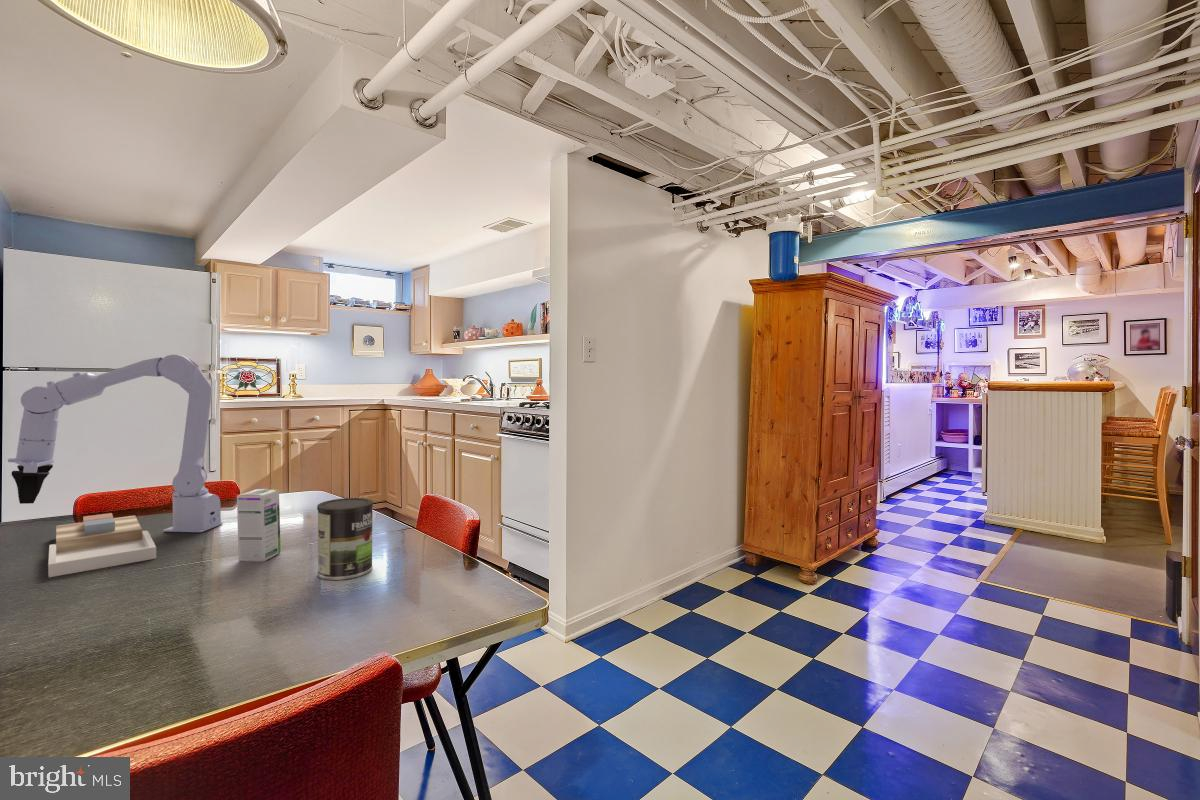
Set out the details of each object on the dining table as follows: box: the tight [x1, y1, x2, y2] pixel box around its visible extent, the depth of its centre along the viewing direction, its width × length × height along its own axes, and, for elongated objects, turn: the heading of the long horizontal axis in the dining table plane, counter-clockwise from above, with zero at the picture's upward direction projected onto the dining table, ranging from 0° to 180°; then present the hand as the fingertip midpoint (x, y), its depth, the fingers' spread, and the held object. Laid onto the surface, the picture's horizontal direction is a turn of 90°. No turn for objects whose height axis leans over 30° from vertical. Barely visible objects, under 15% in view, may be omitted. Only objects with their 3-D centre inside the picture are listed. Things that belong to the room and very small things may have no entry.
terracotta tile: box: [82, 512, 114, 525], centre depth 126 cm, size 5×5×2 cm
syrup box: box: [236, 488, 282, 563], centre depth 115 cm, size 6×6×14 cm
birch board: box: [55, 515, 143, 553], centre depth 125 cm, size 16×14×3 cm
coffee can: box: [316, 497, 374, 581], centre depth 109 cm, size 10×10×14 cm
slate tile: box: [84, 517, 115, 535], centre depth 122 cm, size 5×5×2 cm
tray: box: [47, 530, 157, 578], centre depth 113 cm, size 16×16×2 cm
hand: (28, 499), depth 119 cm, fingers open, 7 cm apart
